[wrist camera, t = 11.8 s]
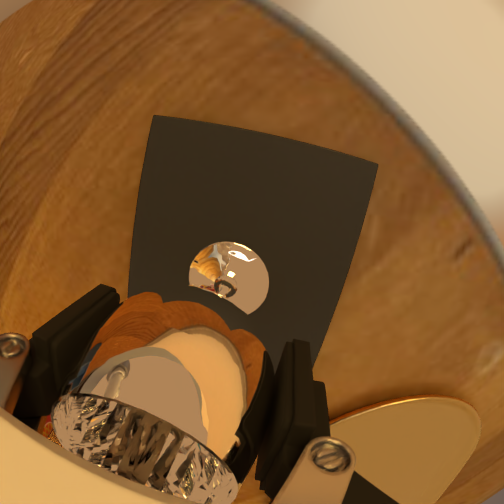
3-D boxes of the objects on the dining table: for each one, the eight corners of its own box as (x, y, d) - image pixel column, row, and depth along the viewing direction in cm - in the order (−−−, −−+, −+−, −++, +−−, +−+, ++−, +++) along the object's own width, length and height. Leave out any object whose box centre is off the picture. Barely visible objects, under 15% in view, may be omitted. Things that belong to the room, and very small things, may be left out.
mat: (157, 116, 15) (153, 114, 15) (375, 164, 15) (378, 164, 14) (129, 357, 20) (125, 362, 19) (294, 403, 19) (294, 409, 19)
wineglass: (202, 209, 16) (32, 312, 4) (301, 260, 16) (322, 458, 5) (163, 298, 18) (38, 449, 6) (252, 343, 18) (208, 535, 6)
